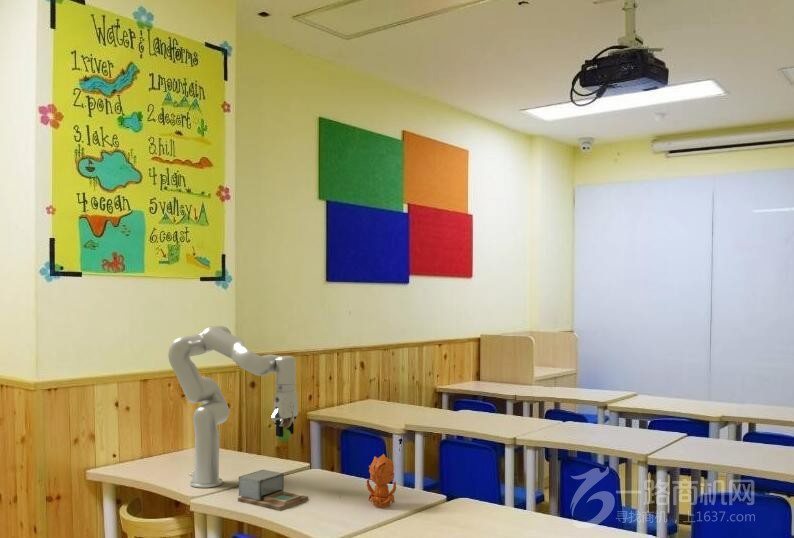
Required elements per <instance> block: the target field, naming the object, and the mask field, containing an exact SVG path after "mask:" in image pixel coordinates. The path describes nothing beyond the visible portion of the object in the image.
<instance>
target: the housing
mask: <svg viewBox="0 0 794 538" xmlns="http://www.w3.org/2000/svg"><path fill="white" fill-rule="evenodd" d="M284 476H285V474H284V473H283V472H279V471H272V470H268V469H267V470H266V469H260V470H257V471H253V472H250V473H247V474H243V475H240V476H238V497H246V498H250V499H255V500H259V501H260V500H261V498H262V496H263V495H266V494H269V493H272V492H280V491H285V487H284V486H285V485H284V484H285V480H284V479H285V477H284Z"/></svg>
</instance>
